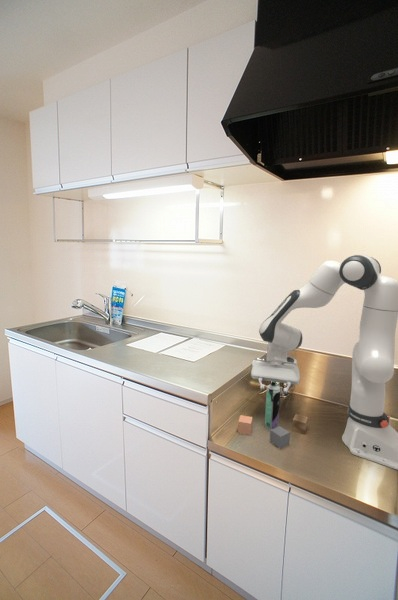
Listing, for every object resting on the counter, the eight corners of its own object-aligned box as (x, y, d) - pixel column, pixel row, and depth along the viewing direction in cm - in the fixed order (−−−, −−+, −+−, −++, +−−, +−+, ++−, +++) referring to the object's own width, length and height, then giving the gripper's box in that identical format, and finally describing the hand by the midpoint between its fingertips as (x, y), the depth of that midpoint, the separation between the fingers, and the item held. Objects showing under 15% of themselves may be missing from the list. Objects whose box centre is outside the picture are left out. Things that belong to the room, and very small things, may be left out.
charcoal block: (289, 444, 113) (289, 432, 113) (280, 449, 111) (280, 436, 110) (278, 437, 117) (279, 426, 117) (269, 442, 115) (270, 430, 114)
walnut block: (307, 428, 124) (308, 417, 123) (304, 434, 119) (305, 423, 119) (295, 425, 126) (295, 414, 125) (292, 430, 122) (292, 419, 121)
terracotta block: (251, 428, 124) (252, 417, 123) (250, 435, 119) (251, 423, 118) (239, 426, 125) (240, 415, 124) (238, 433, 120) (238, 421, 119)
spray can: (278, 431, 121) (281, 385, 118) (264, 429, 122) (267, 383, 119) (277, 424, 127) (280, 379, 123) (264, 422, 128) (266, 378, 124)
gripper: (252, 354, 133) (247, 384, 125) (300, 360, 127) (299, 392, 119) (253, 360, 138) (249, 389, 130) (300, 366, 131) (298, 397, 124)
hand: (273, 390), depth 124 cm, fingers open, 8 cm apart
